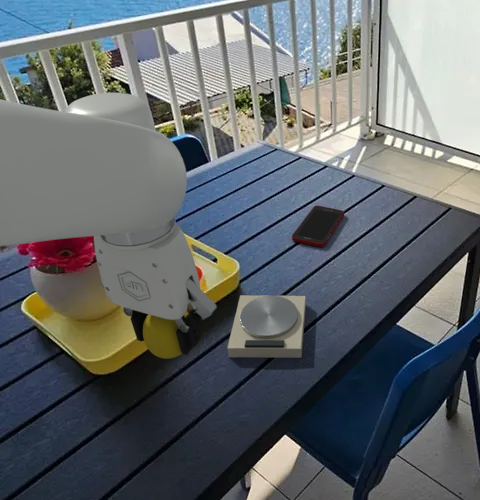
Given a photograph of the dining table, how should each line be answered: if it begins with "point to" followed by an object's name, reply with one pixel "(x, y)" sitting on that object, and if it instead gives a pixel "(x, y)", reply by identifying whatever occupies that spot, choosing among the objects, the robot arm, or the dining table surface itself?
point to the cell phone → (318, 226)
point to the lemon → (161, 337)
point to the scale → (268, 327)
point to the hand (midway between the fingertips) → (169, 338)
